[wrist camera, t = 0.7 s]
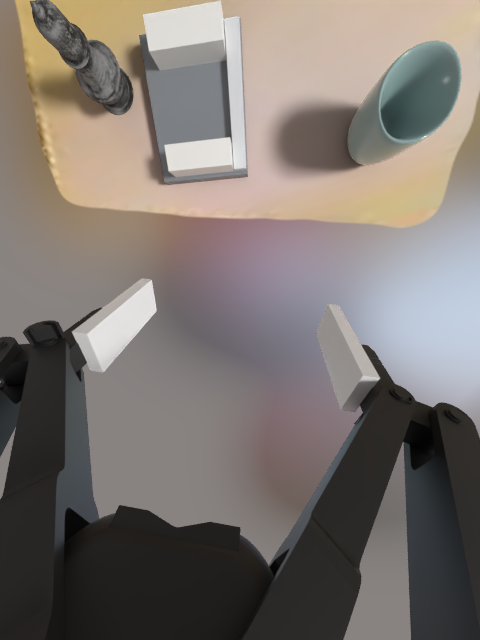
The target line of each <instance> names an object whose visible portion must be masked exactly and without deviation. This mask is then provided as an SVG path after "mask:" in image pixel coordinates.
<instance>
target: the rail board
mask: <svg viewBox="0 0 480 640" xmlns="http://www.w3.org/2000/svg"><path fill="white" fill-rule="evenodd" d="M143 18H144V24H145V30H146V34H144V35H139V37H140V43H141V49H142V55H143V61H144V66H145V72H146V78H147V84H148V90H149V96H150V101H151V107H152V113H153V119H154V125H155V131H156V136H157V142H158V148H159V154H160V160H161V165H162V171H163V177H164V182H165V183H166V184H168V185H170V184H180V183H190V182H200V181H210V180H220V179H230V178H240V177H248V172H247V149H246V127H245V105H244V82H243V60H242V38H241V20H240V18H239V16H236V17H231V18H225V19H224V20H223V13H222V6H221V1H216V2H210V3H205V4H199V5H194V6H188V7H182V8H177V9H171V10H166V11H160V12H154V13H149V14H143Z"/></svg>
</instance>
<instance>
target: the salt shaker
mask: <svg viewBox="0 0 480 640" xmlns="http://www.w3.org/2000/svg"><path fill="white" fill-rule="evenodd" d="M30 3H31V7H32V14H33V19H34V22H35V24H36V27H37V28H38V30H39V32H40V33H41V34H42V35H43V37H44V38H45V39H46V40H47V41H48V42H49V43H51V44H52V45H53V46H54V47H55V48H56V49H57V50H58V51H59V53H60V55H61V57H62V59H63V60H64V61H65V63H66V64H68V65H69V66H70V67H72V68H74V69H76V75H77V78H78V81H79V84H80V86H81V87H82V89H83V91H84V92H85V93H86V94H87V96H89V97H90V98H91V99H92V100H94V101H96V102H98V103H102V104H103V105H104V107H105V108H106V109H107V110H108V111H110V112H111V113H113V114H116V115H121V114H124V113H126V112H127V111H128V110H129V109H130V107H131V105H132V102H133V88H132V84H131V82H130V79H129V77H128V76H127V75H126V73H125V72H124V71H123V70H122V69H121V68H119V65H118V62H117V60H116V58H115V56H114V54H113V53H112V51H111V50H110V49H109V48H108V47H107V46H106V45H105V44H104V43H102V42H100V41H98V40H89V41H87V38H86V36H85V34H84V33H83V32H82V30H81V29H80V28H79V27H78V26H76V25H74V24H72V23H70V22H69V21H68V20H67V18H66V17H65V16H64V15H63V14H62V13H61V11H60V10H59V9H58V8H57V7H56V6H55V5H54V4H53V3H52V2H50V1H49V0H36V1H30Z"/></svg>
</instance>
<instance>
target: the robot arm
mask: <svg viewBox="0 0 480 640" xmlns="http://www.w3.org/2000/svg"><path fill="white" fill-rule="evenodd" d="M156 311H157V310H156V303H155V297H154V291H153V286H152V280H150V279H143V278H142V279H140V280H139V281H138V282H136V283H135V284H134V285H133V286H131V287H130V288H129V289H127V290H126V291H125V292H123V293H122V294H121V295H119V296H118V297H117V298H115V299H114V300H113V301H112V302H110V303H109V304H108V305H106V306H105V307H104V308H99V309H96V310H94V311H92V312H91V313H89V314H88V315H87V316H86V317H84V318H83V319H81V320H80V321H78V322H77V323H76V324H74V325H73V326H72V327H70V328H69V329H67V330H66V331H65V332H63V331H62V329H61V327H60V325H59V323H58V322H56V321H42V322H38V323H35V324H33V325H31V326H29V327H28V328H26V329H25V330H24V332H23V333H24V335H25V336H26V338H27V340H28V341H29V343H30V344H21V345H19V344H18V343H17V341H16V340H15V338H12V337H2V338H0V381H1V383H0V456H1V455H2V452H3V451H4V449H5V447H6V445H7V443H8V441H9V439H10V437H11V435H12V433H13V431H14V429H15V427H16V430H15V436H14V441H13V446H12V451H11V456H10V462H9V467H8V472H7V478H6V482H5V488H4V493H3V496H2V498H1V499H0V640H343V638H344V636H345V632H346V630H347V626H348V624H349V621H350V617H351V614H352V611H353V608H354V605H355V602H356V599H357V596H358V593H359V589H360V585H361V573H360V570H359V565H360V561H361V558H362V555H363V552H364V549H365V546H366V544H367V541H368V538H369V535H370V532H371V530H372V527H373V524H374V521H375V518H376V516H377V513H378V510H379V507H380V504H381V501H382V499H383V496H384V493H385V490H386V487H387V485H388V482H389V479H390V476H391V473H392V471H393V468H394V465H395V462H396V459H397V457H398V454H399V451H400V448H401V445H402V443H403V442H404V462H405V488H406V514H407V538H408V539H407V541H408V568H409V595H410V618H411V619H410V620H411V640H480V438H479V435H478V432H477V430H476V427H475V425H474V423H473V421H472V419H471V418H470V417H468V415H467V414H465V413H464V412H463V411H461V410H460V409H458V408H457V407H455V406H453V405H450V404H447V403H438V404H437V405H436V406H434V407H433V408H432V407H430V406H428V405H425V404H422V403H420V402H417V401H415V399H414V397H413V396H412V395H411V394H410V393H409V392H408V391H407V390H406V389H404V388H403V387H401V386H398V385H396V384H394V382H393V380H392V379H391V377H390V376H389V374H388V372H387V371H386V369H385V368H384V366H383V365H382V363H381V361H380V360H379V358H378V356H377V355H376V353H375V352H374V351H373V350H372V349H371V348H370V347H369V346H367V345H361V344H360V342H359V340H358V338H357V337H356V335H355V333H354V331H353V330H352V328H351V326H350V324H349V323H348V321H347V319H346V317H345V316H344V314H343V312H342V310H341V309H340V307H339V305H333V304H328V305H327V308H326V310H325V313H324V315H323V318H322V320H321V323H320V325H319V328H318V331H317V333H316V334H317V337H318V341H319V344H320V347H321V350H322V353H323V356H324V359H325V363H326V366H327V369H328V372H329V375H330V378H331V381H332V385H333V388H334V391H335V394H336V397H337V400H338V404H339V407H340V410H344V411H351V412H355V411H356V410H357V409H358V407H359V406H361V409H362V411H363V413H362V415H361V416H360V417H359V418H358V420H357V421H356V422H355V426H354V427H353V429H352V431H351V432H350V434H349V436H348V437H347V439H346V441H345V442H344V444H343V446H342V447H341V449H340V451H339V452H338V454H337V456H336V457H335V459H334V461H333V462H332V464H331V466H330V467H329V469H328V471H327V472H326V474H325V476H324V477H323V479H322V481H321V482H320V484H319V486H318V487H317V489H316V491H315V492H314V494H313V496H312V497H311V499H310V501H309V502H308V504H307V505H306V507H305V509H304V511H303V512H302V514H301V515H300V517H299V519H298V521H297V522H296V524H295V525H294V527H293V529H292V530H291V532H290V533H289V535H288V537H287V538H286V539H285V541H284V542H283V544H282V545H281V547H280V548H279V550H278V551H277V553H276V554H275V556H274V558H273V560H272V561H271V563H270V565H269V566H268V564H267V562H266V560H265V559H264V558H263V556H262V555H261V553H260V552H259V551H258V550H257V549H256V547H255V546H254V545H253V544H251V542H250V541H248V540H247V539H246V538H244V537H243V536H241V535H240V527H234V526H230V525H224V524H219V523H213V522H207V523H201V524H196V525H190V526H184V527H178V528H177V527H174V526H172V525H170V524H169V523H167V522H166V521H164V520H162V519H161V518H159V517H158V516H156V515H155V514H153V513H151V512H150V511H148V510H142V509H137V508H132V507H127V506H121V505H120V506H119V507H118V509H117V511H116V513H115V514H111V515H108V516H105V517H102V518H100V519H99V516H98V511H97V507H96V504H95V502H94V498H93V490H92V477H91V464H90V450H89V437H88V424H87V410H86V397H85V384H84V372H83V370H82V367H83V366H84V365H85V364H86V363H87V365H88V367H89V369H90V370H91V371H97V372H104V371H105V370H106V369H107V368H108V367H109V365H110V364H111V363H112V362H113V360H115V358H116V357H117V356H118V355H119V354H120V353H121V351H122V350H123V349H124V348H125V347H126V346H127V345H128V343H129V342H130V341H131V340H132V339H133V338H134V336H135V335H136V334H137V333H138V332H139V331H140V330H141V328H142V327H143V326H144V325H145V324H146V323H147V321H148V320H149V319H150V318H151V317H152V316H153V314H154V313H155V312H156Z"/></svg>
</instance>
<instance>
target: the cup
mask: <svg viewBox="0 0 480 640" xmlns="http://www.w3.org/2000/svg"><path fill="white" fill-rule="evenodd" d="M460 85H461V65H460V60H459V57H458V55H457V53H456V51H455V50H454V48H453V47H452V46H451V45H449V44H447V43H445V42H441V41H429V42H425V43H422V44H419V45H416V46H415V47H413V48H411V49H409V50H408V51H406V52H405V53H404V54H402V55H401V56H400V57H399V58H398V59H397V60H396V61H395V62H394V63H393V64H392V65H391V66H390V67H389V68H388V69H387V70H386V72H385V73H384V74H383V75H382V77H381V78H380V79H379V80H378V82H377V83H376V84H375V86H374V87H373V88H372V90H371V91H370V92H369V94H368V95H367V96H366V98H365V99H364V101H363V102H362V104H361V105H360V106H359V108H358V110H357V111H356V113H355V115H354V117H353V119H352V122H351V124H350V128H349V131H348V139H347V143H348V151H349V153H350V156H351V157H352V159H353V160H354V161H355V162H356V163H358V164H361V165H374V164H377V163H381V162H384V161H386V160H388V159H390V158H393V157H395V156H397V155H399V154H400V153H402V152H404V151H406V150H407V149H409V148H411V147H413V146H414V145H416V144H418V143H419V142H421V141H422V140H424V139H425V138H427V137H428V136H430V135H431V134H433V133H434V132H435V131H436V130H437V129H438V128H440V127H441V126H442V124H443V123H444V122H445V121H446V120H447V118H448V117H449V115H450V114H451V112H452V110H453V108H454V106H455V103H456V101H457V98H458V95H459V91H460Z"/></svg>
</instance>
